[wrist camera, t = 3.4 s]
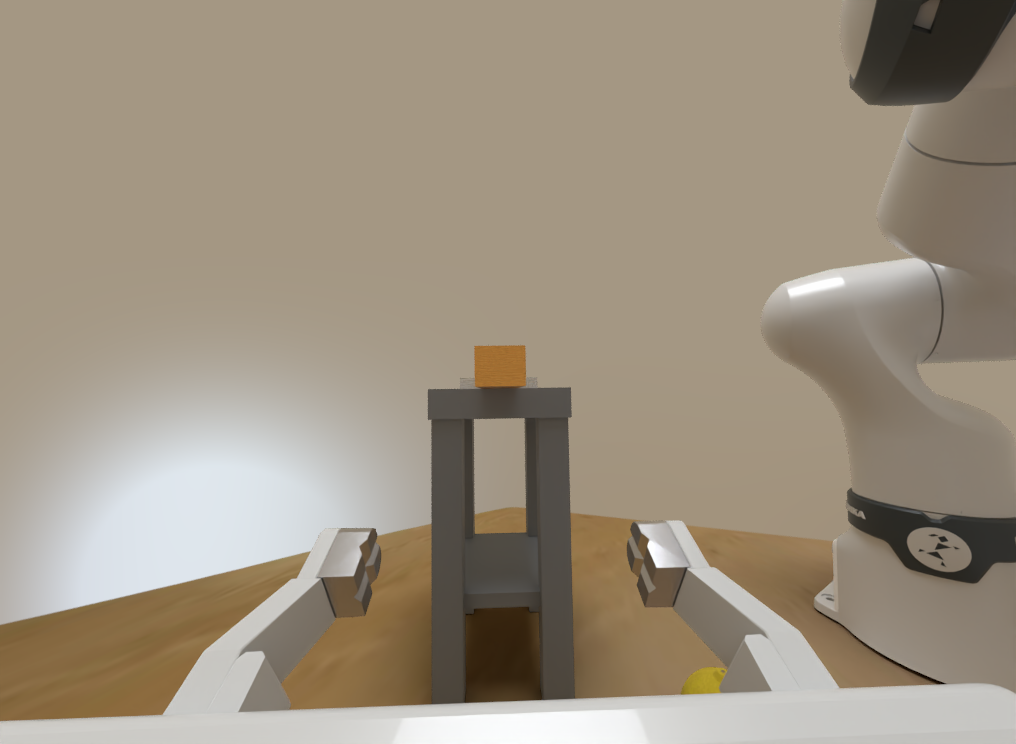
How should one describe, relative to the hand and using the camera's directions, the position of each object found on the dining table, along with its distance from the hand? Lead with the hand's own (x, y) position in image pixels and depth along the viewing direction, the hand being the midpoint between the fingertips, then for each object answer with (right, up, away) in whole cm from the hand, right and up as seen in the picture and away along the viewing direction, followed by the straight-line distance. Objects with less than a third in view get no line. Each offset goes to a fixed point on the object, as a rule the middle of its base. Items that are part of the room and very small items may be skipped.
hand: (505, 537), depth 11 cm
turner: (-1, +4, +22) cm, 22 cm away
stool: (0, -22, +25) cm, 34 cm away
